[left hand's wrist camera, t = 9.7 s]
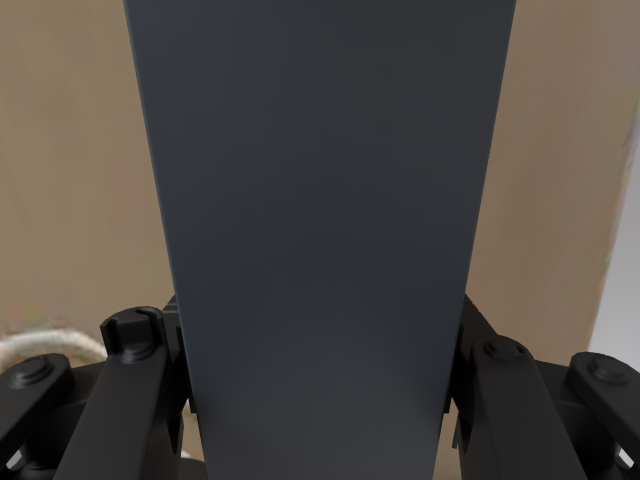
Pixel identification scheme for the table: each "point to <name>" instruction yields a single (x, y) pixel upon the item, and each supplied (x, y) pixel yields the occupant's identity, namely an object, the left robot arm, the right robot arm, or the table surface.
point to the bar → (319, 218)
